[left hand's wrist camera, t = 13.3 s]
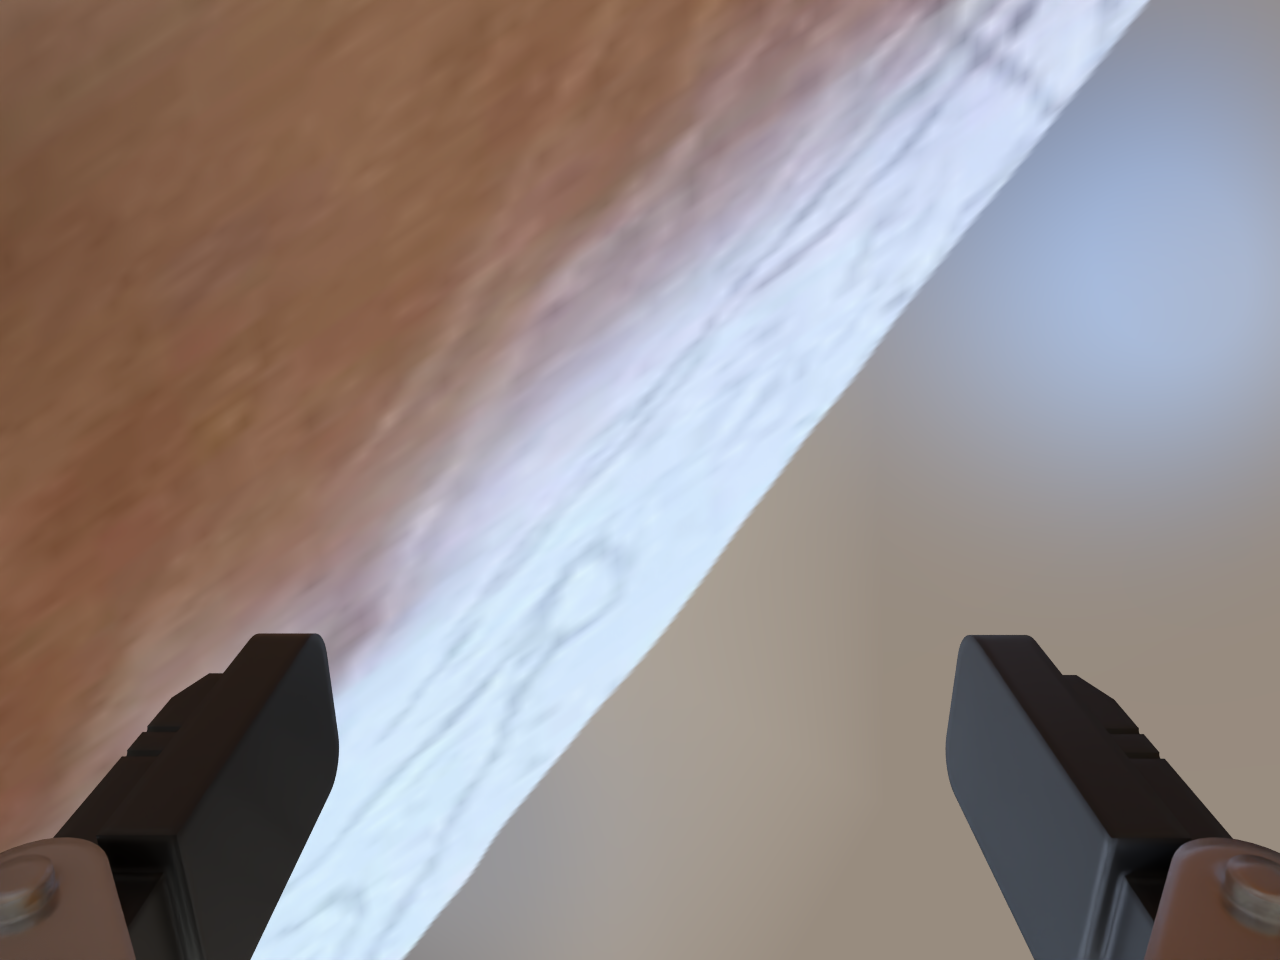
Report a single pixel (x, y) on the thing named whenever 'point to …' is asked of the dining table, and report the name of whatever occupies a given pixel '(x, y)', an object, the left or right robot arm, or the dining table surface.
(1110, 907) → the left robot arm
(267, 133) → the dining table surface
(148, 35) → the dining table surface
